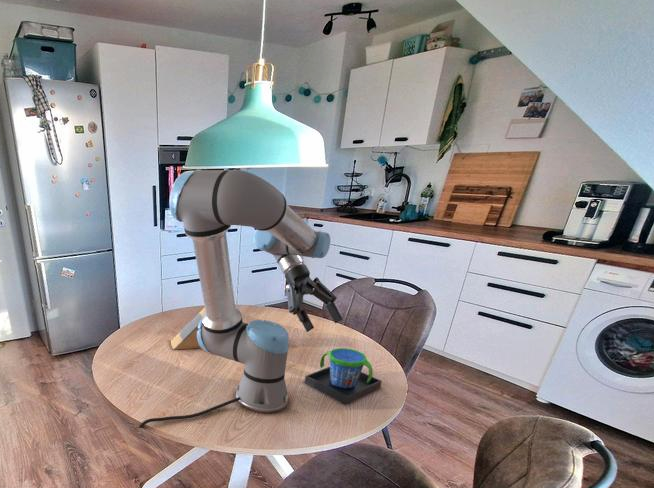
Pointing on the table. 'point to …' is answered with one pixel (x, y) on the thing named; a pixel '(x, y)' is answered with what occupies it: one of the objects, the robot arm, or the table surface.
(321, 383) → the tray
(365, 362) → the snack cup
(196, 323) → the sandwich container
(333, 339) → the table surface
